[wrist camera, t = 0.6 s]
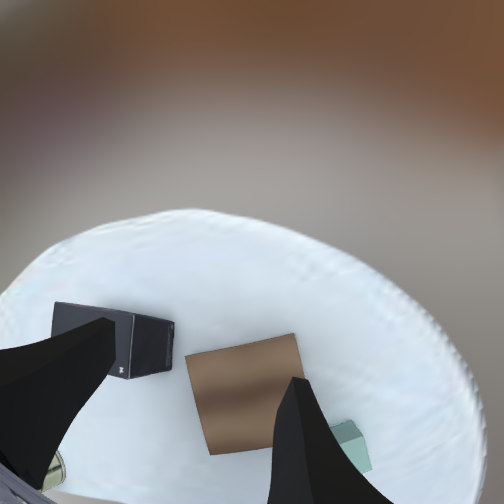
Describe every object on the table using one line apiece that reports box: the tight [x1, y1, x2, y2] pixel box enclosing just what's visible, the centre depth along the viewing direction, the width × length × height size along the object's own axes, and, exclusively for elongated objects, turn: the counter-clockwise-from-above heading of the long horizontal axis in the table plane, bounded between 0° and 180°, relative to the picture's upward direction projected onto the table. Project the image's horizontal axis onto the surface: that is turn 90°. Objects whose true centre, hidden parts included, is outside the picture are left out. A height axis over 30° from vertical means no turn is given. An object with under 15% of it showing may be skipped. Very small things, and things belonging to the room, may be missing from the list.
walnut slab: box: [185, 333, 305, 455], centre depth 31 cm, size 12×12×2 cm
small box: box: [51, 302, 174, 380], centre depth 30 cm, size 11×6×10 cm, turn 86°
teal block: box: [330, 420, 372, 474], centre depth 26 cm, size 4×4×6 cm
